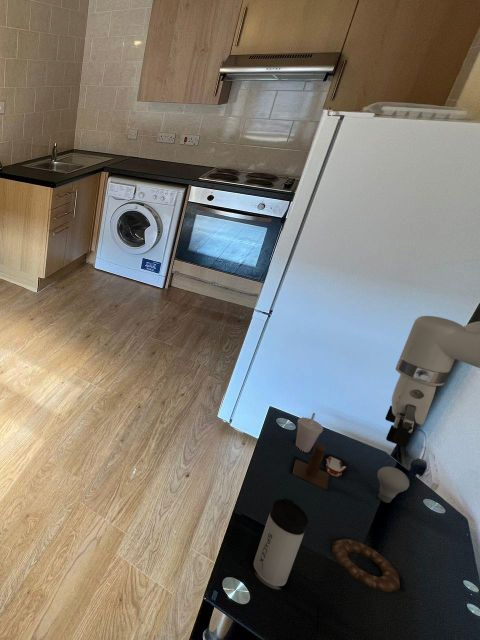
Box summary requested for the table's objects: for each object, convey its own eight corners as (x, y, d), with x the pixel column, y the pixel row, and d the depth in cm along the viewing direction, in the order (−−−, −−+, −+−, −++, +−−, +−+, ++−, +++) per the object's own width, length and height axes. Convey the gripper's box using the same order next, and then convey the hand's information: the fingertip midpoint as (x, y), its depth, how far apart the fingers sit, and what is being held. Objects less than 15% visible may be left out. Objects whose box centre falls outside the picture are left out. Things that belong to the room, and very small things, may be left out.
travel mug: (282, 569, 95) (306, 504, 89) (286, 596, 90) (312, 528, 84) (251, 555, 98) (271, 492, 92) (253, 580, 93) (275, 514, 87)
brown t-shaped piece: (328, 476, 122) (339, 446, 118) (326, 492, 116) (337, 461, 113) (295, 461, 127) (304, 432, 124) (291, 476, 121) (301, 446, 118)
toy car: (321, 470, 124) (324, 462, 123) (324, 457, 129) (327, 449, 128) (343, 481, 120) (346, 472, 119) (345, 466, 125) (349, 458, 124)
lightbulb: (370, 488, 118) (382, 458, 115) (400, 502, 114) (413, 471, 110) (367, 499, 114) (379, 468, 111) (397, 514, 110) (411, 483, 106)
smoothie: (288, 447, 133) (299, 411, 129) (292, 438, 137) (304, 403, 133) (312, 458, 128) (325, 422, 124) (316, 448, 132) (329, 413, 128)
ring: (396, 568, 96) (400, 560, 95) (398, 607, 88) (402, 598, 87) (332, 535, 104) (335, 527, 103) (329, 568, 96) (332, 560, 95)
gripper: (451, 394, 82) (420, 461, 87) (441, 362, 94) (415, 422, 99) (399, 378, 87) (372, 442, 92) (396, 349, 99) (373, 408, 104)
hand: (394, 432), depth 95 cm, fingers open, 9 cm apart
